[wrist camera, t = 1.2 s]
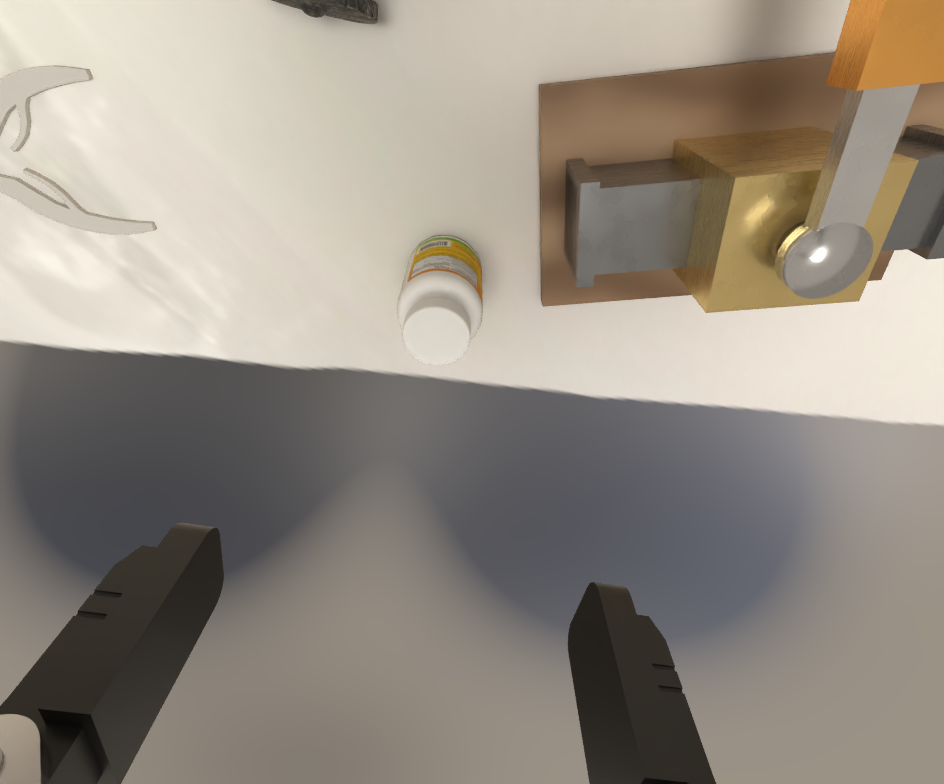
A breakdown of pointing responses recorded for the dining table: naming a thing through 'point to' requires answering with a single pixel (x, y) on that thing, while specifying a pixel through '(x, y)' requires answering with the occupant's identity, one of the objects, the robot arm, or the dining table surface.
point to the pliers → (3, 99)
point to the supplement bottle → (440, 300)
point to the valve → (338, 9)
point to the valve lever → (862, 137)
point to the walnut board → (653, 135)
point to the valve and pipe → (740, 212)
